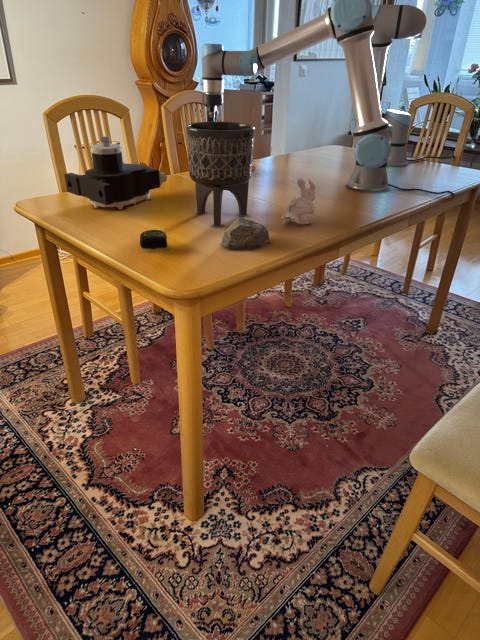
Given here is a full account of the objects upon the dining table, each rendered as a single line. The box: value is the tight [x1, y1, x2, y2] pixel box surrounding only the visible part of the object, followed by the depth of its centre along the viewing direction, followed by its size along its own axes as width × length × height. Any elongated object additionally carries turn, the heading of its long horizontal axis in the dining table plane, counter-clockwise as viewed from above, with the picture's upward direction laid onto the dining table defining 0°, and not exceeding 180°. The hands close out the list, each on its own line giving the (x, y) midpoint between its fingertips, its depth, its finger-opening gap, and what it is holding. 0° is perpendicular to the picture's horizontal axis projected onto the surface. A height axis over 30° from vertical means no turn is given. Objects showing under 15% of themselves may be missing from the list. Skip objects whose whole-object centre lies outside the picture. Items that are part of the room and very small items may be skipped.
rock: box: [221, 216, 270, 250], centre depth 119 cm, size 13×9×6 cm, turn 131°
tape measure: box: [139, 229, 168, 250], centre depth 117 cm, size 7×7×4 cm
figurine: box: [281, 177, 316, 225], centre depth 135 cm, size 8×15×13 cm, turn 145°
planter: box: [185, 121, 256, 227], centre depth 134 cm, size 20×20×26 cm
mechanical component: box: [63, 135, 168, 210], centre depth 149 cm, size 22×21×30 cm
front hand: (213, 157), depth 176 cm, fingers closed on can, 9 cm apart
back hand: (372, 99), depth 240 cm, fingers open, 13 cm apart
